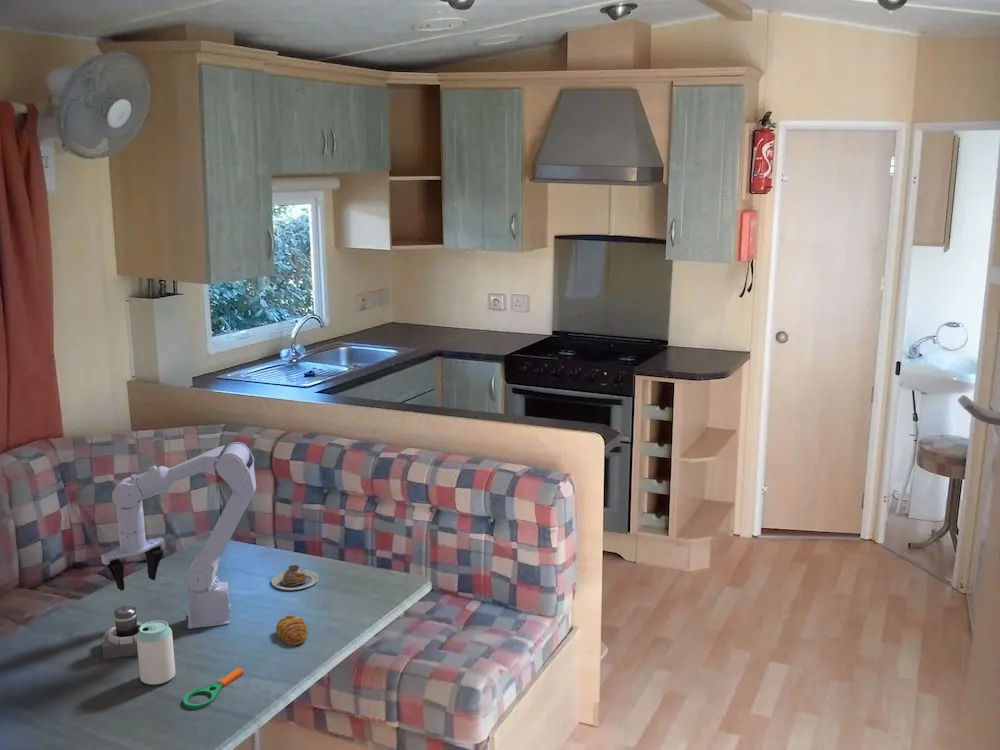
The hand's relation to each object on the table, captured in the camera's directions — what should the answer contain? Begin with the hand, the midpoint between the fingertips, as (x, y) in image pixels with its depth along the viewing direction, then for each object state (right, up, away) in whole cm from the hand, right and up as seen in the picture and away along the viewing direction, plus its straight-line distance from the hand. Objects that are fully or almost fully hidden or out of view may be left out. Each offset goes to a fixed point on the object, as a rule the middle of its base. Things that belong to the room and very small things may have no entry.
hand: (136, 583), depth 227 cm
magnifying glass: (+26, -17, -26) cm, 41 cm away
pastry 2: (+32, -5, +24) cm, 41 cm away
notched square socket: (+2, -12, -9) cm, 16 cm away
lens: (+2, -9, -10) cm, 14 cm away
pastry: (+38, -12, -4) cm, 40 cm away
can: (+13, -16, -22) cm, 30 cm away
